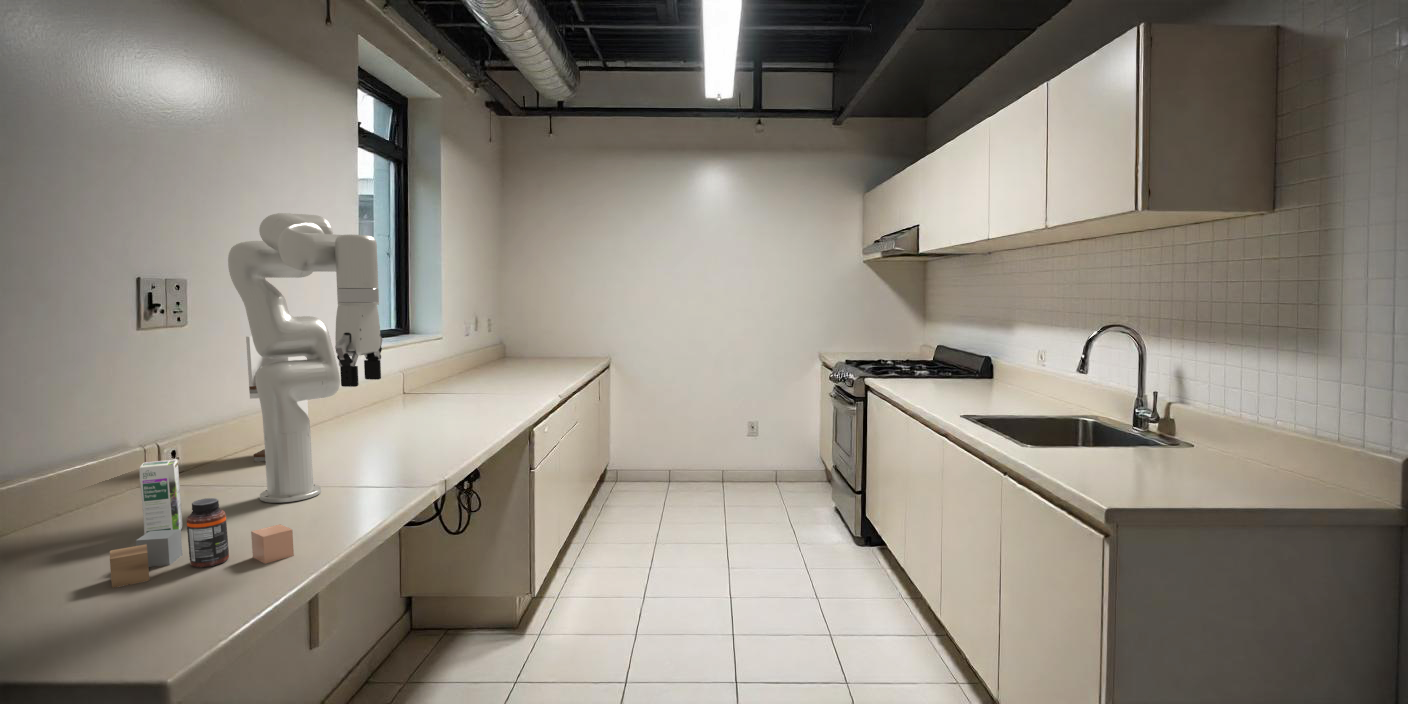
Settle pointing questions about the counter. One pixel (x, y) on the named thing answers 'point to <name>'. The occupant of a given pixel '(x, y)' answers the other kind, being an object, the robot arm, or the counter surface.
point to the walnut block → (129, 565)
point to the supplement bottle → (207, 534)
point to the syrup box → (160, 495)
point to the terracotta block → (272, 543)
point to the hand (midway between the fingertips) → (361, 382)
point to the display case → (253, 366)
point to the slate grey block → (162, 546)
